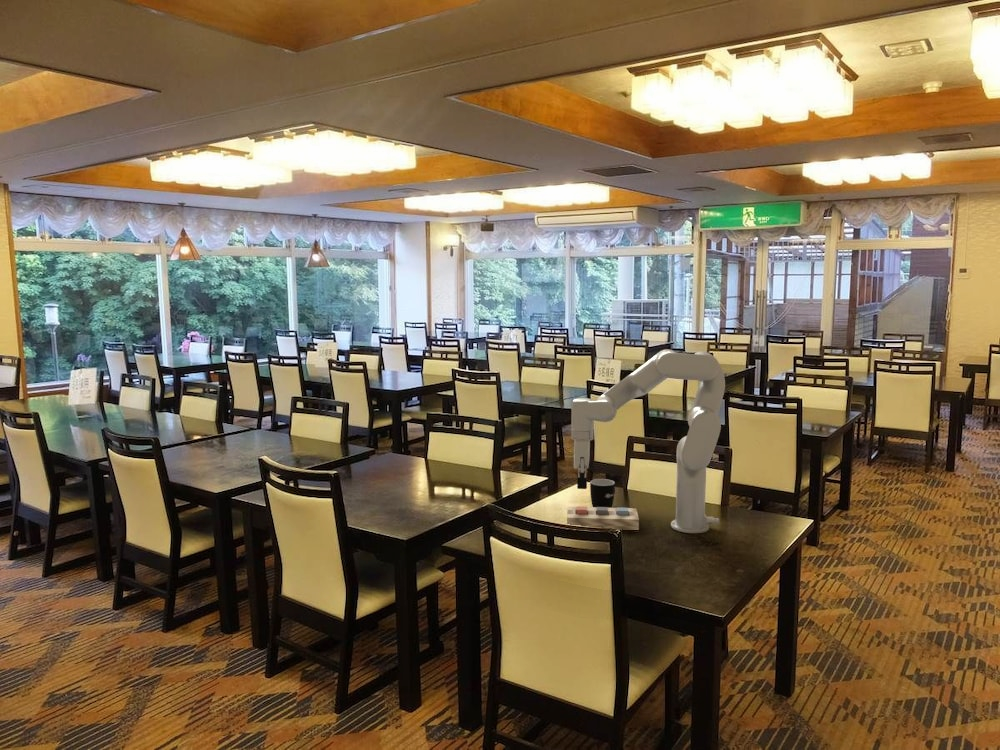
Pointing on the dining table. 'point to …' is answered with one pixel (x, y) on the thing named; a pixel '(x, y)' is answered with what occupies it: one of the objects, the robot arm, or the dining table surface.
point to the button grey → (602, 511)
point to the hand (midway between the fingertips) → (582, 486)
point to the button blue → (622, 511)
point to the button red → (581, 510)
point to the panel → (604, 519)
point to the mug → (602, 492)
